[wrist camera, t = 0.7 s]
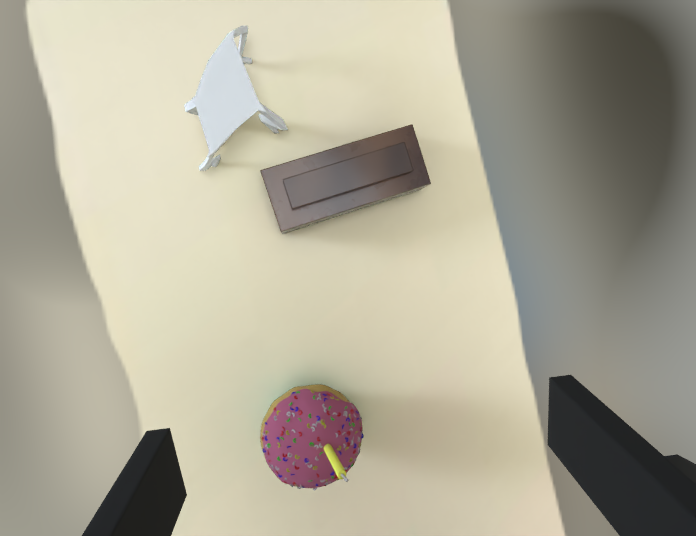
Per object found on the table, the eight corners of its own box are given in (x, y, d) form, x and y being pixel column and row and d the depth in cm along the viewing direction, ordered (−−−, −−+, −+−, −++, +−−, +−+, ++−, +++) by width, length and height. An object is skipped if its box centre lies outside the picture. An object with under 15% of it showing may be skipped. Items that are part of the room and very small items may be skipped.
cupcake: (352, 367, 40) (375, 414, 28) (358, 454, 40) (383, 537, 29) (261, 377, 39) (245, 429, 27) (268, 466, 39) (255, 556, 28)
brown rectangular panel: (403, 134, 40) (415, 120, 36) (420, 189, 41) (434, 181, 36) (263, 177, 39) (259, 167, 35) (282, 233, 39) (280, 231, 35)
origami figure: (291, 169, 39) (291, 156, 34) (199, 175, 38) (185, 163, 33) (278, 39, 39) (276, 7, 34) (185, 42, 38) (168, 10, 33)
